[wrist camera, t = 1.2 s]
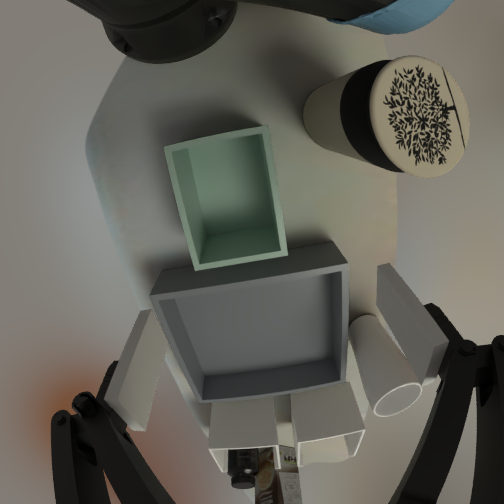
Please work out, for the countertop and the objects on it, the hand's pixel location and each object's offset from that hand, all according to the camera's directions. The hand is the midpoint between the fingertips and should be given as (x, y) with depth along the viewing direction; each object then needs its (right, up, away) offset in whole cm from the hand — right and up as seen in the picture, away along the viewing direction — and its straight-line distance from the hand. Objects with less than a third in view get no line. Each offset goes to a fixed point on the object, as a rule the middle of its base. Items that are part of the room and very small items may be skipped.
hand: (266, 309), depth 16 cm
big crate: (0, -6, +24) cm, 25 cm away
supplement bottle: (-3, -38, +39) cm, 54 cm away
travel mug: (+9, +18, +13) cm, 24 cm away
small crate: (-3, +11, +16) cm, 20 cm away
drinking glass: (+16, -8, +26) cm, 31 cm away
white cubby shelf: (+5, -27, +34) cm, 43 cm away
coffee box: (+5, -45, +42) cm, 62 cm away
